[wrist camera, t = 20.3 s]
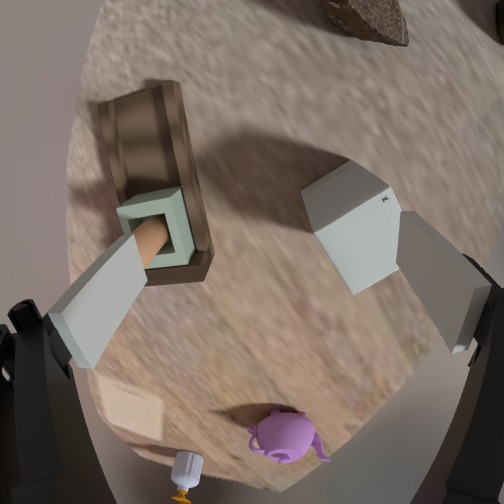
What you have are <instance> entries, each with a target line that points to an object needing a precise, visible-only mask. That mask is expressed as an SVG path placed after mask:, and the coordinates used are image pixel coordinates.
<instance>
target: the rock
mask: <svg viewBox="0 0 504 504" xmlns="http://www.w3.org/2000/svg"><path fill="white" fill-rule="evenodd" d="M319 2H320V5H321V6H322V7H323V9H324V10H325V14H326V15H327V18H328V19H329V21H331V22H332V23H334V24H336V25H337V26H339V27H341V28H343V30H344V31H346V32H348V33H350V34H352V35H354V36H355V37H357V38H359V39H360V40H365V41H373V42H381V43H384V44H388V45H393V46H404V47H407V46H408V43H409V38H408V32H407V28H406V20H405V18H404V17H403V15H402V13H401V9H400V6H399V3H398V0H319Z"/></svg>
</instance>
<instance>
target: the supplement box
mask: <svg viewBox="0 0 504 504" xmlns="http://www.w3.org/2000/svg"><path fill="white" fill-rule="evenodd" d="M300 193H301V196H302V199H303V202H304V205H305V208H306V211H307V215H308V218H309V221H310V225H311V228H312V231H313V234H314V235H315V237H316V238H317V240H318V241H319V243H320V245H321V246H322V248H323V249H324V251H325V252H326V254H327V256H328V257H329V259H330V260H331V262H332V264H333V265H334V267H335V268H336V270H337V271H338V273H339V275H340V276H341V278H342V280H343V281H344V283H345V284H346V286H347V288H348V289H349V291H350V292H351V294H352V295H355V294H357V293H358V292H360V291H362V290H364V289H366V288H368V287H369V286H371V285H373V284H374V283H376V282H378V281H379V280H381V279H383V278H385V277H386V276H388V275H390V274H391V273H393V272H395V271H397V270H398V269H400V268H399V267H398V265H397V264H396V256H397V247H398V236H399V224H400V211H402V210H401V208H400V205H399V203H398V201H397V199H396V197H395V195H394V193H393V191H392V189H391V187H390V186H389V185H388V184H386V183H385V182H384V181H382V180H381V179H380V178H378V177H377V176H375V175H374V174H372V173H371V172H369V171H368V170H367V169H365V168H364V167H362V166H361V165H359V164H358V163H356V162H355V161H353V160H349V161H348V162H346V163H344V164H343V165H341V166H340V167H338V168H336V169H335V170H333V171H331V172H330V173H328V174H327V175H325V176H323V177H322V178H320V179H319V180H317V181H315V182H314V183H312V184H311V185H309V186H307V187H306V188H304V189H303V190H301V191H300Z"/></svg>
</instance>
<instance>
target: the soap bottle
mask: <svg viewBox="0 0 504 504" xmlns="http://www.w3.org/2000/svg"><path fill="white" fill-rule="evenodd" d="M202 463H203V458H202V456H200V455H199V454H196V453H194V452H190V451H178V452H177V453H176V457H175V461H174V465H173V469H172V473H171V478H172V480H173V482H174V483H176V484H177V485H178V488H177V492H179V495H177V497H172V498H173V499H175V500H178V501H180V504H191V502H190V501H188V500H186V499H185V497H184V494H187V492H188V488H190V487H194V486H196V485H198V483H199V478H200V473H201V468H202Z"/></svg>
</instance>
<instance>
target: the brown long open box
mask: <svg viewBox="0 0 504 504" xmlns="http://www.w3.org/2000/svg"><path fill="white" fill-rule="evenodd" d="M161 84H162V86H159V87H155V88H152V89H149V90H146V91H143V92H140V93H137V94H134V95H131V96H128V97H125V98H122V99H119V100H117V101H114V102H103V103H100V104H98V111H99V116H100V122H101V127H102V132H103V137H104V142H105V146H106V151H107V155H108V159H109V164H110V168H111V172H112V176H113V180H114V184H115V188H116V191H117V195H118V199H119V202H120V205H122V204H123V203H124V202H126V201H127V200H129V199H130V198H132V197H133V196H135V195H139V194H143V193H148V192H153V191H158V190H163V189H168V188H173V187H178V186H182V189H183V194H184V198H185V202H186V207H187V211H188V215H189V219H190V223H191V227H192V232H193V236H194V240H195V244H196V247H197V248H196V250H195V252H194V254H193V256H192V257H191V259H190V261H189V263H188V264H187V265H177V266H168V267H159V268H149V269H145V270H144V271H145V274H146V277H147V280H148V281H147V282H146V284H145V285H144V286H156V285H168V284H180V283H191V282H202V281H204V280H205V277H206V275H207V272H208V270H209V267H210V264H211V262H212V259H213V257H214V254H215V253H214V249H213V245H212V240H211V236H210V231H209V227H208V223H207V218H206V214H205V209H204V204H203V200H202V195H201V190H200V186H199V181H198V176H197V171H196V167H195V162H194V157H193V152H192V147H191V142H190V136H189V131H188V126H187V121H186V115H185V110H184V104H183V99H182V93H181V88H180V83H179V82H176V81H173V80H167V81H164V82H161Z"/></svg>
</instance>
